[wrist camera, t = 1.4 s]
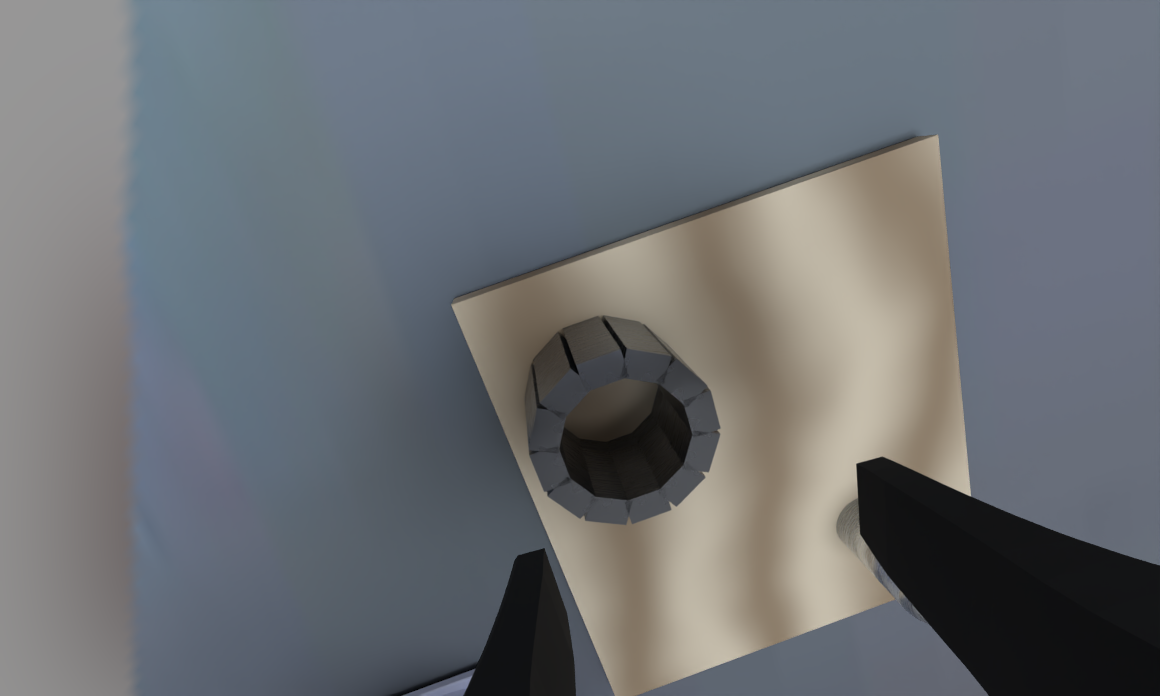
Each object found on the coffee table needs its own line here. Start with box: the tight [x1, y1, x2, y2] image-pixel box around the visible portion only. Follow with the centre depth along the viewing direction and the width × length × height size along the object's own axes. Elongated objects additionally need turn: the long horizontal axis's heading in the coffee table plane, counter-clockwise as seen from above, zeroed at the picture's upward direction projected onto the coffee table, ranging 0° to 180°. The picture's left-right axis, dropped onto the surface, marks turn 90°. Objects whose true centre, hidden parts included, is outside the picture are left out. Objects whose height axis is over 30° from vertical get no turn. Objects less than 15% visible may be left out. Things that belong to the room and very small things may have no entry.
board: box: [451, 135, 971, 696], centre depth 22 cm, size 18×20×1 cm
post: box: [836, 498, 929, 624], centre depth 21 cm, size 3×3×5 cm
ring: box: [524, 315, 721, 525], centre depth 18 cm, size 6×6×4 cm
